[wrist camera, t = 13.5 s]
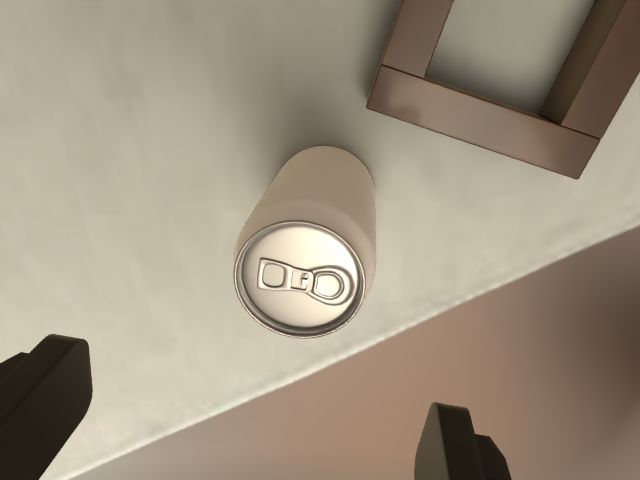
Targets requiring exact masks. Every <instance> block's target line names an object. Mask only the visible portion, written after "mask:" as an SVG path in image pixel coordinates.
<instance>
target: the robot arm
mask: <svg viewBox="0 0 640 480" xmlns="http://www.w3.org/2000/svg"><path fill="white" fill-rule="evenodd" d="M92 392H93V389H92V377H91V366H90V355H89V346H88V343H87V341H86V340H84V339H79V338H73V337H68V336H62V335H56V334H50V335H48V336H47V337H45V338H44V339H43V340H42V341H41V342H40V343H39V344H38V345H37V346H36V347H35V348H34V349H33V350H32V351H31V352H30V353H29V354H28V353H23V352H21V353H19V354H17V355H15V356H13V357H11V358H9V359H7V360H6V361H4V362H2V363H0V480H39V479H40V477H41V476H42V474H43V473H44V472H45V470H46V469H47V468H48V466H49V465H50V463H51V462H52V461H53V459H54V458H55V457H56V455H57V454H58V452H59V451H60V450H61V448H62V447H63V445H64V444H65V443H66V441H67V440H68V439H69V437H70V436H71V434H72V433H73V432H74V430H75V429H76V428H77V426H78V425H79V423H80V422H81V421H82V419H83V418H84V416H85V415H86V413H87V411H88V408H89V406H90V403H91V399H92ZM414 477H415V480H511V476H510V473H509V470H508V466H507V463H506V459H505V457H504V456H503V455H502V453H501V452H500V450H499V449H498V448H497V446H496V445H495V444H494V442H493V441H492V439H491V438H490V437H489V436H483V435H478V434H475V433H474V429H473V425H472V421H471V416H470V413H469V410H468V409H467V408H465V407H459V406H453V405H447V404H442V403H436V402H433V403H432V405H431V407H430V410H429V413H428V416H427V419H426V422H425V426H424V429H423V432H422V435H421V438H420V442H419V445H418V448H417V452H416V458H415V469H414Z"/></svg>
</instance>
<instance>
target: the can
mask: <svg viewBox="0 0 640 480" xmlns="http://www.w3.org/2000/svg"><path fill="white" fill-rule="evenodd" d="M234 264H235V265H234V285H235V289H236V292H237V295H238V298H239V300H240V302H241V303H242V305H243V307H244V308H245V310H246V311H247V312H248V313H249V314H250V315H251V317H252V318H254V319H255V320H256V321H257V322H258V323H260V324H261V325H262V326H264V327H265V328H267V329H269V330H271V331H273V332H275V333H278V334H281V335H284V336H288V337H293V338H316V337H321V336H325V335H328V334H330V333H333V332H335V331H337V330H339V329H340V328H342V327H343V326H345V325H346V324H347V323H348V322H349V321H350V320H351V319H352V318H353V317H354V316H355V315H356V313H357V312H358V310H359V308H360V307H361V304H362V302H363V301H364V300H365V298H366V297H367V295H368V293H369V291H370V289H371V287H372V284H373V280H374V276H375V268H376V209H375V189H374V184H373V180H372V177H371V175H370V173H369V171H368V170H367V168H366V167H365V166H364V164H363V163H362V162H361V161H360V160H359V159H358V158H356V157H355V156H354V155H352V154H351V153H349V152H347V151H345V150H343V149H340V148H336V147H331V146H316V147H311V148H308V149H305V150H303V151H301V152H299V153H297V154H296V155H294V156H293V157H292V158H290V159H289V160H288V161H287V162H286V164H285V165H284V166H283V167H282V169H281V170H280V172H279V173H278V174H277V176H276V177H275V179H274V180H273V182H272V183H271V185H270V186H269V188H268V189H267V191H266V192H265V194H264V195H263V197H262V198H261V200H260V201H259V203H258V204H257V206H256V207H255V209H254V210H253V212H252V214H251V215H250V217H249V218H248V220H247V221H246V223H245V225H244V227H243V228H242V230H241V232H240V234H239V237H238V240H237V243H236V247H235V253H234Z"/></svg>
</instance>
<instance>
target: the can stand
mask: <svg viewBox="0 0 640 480" xmlns="http://www.w3.org/2000/svg"><path fill="white" fill-rule="evenodd" d="M453 1H454V0H401V1H400V3H399V6H398V9H397V12H396V15H395V18H394V21H393V24H392V27H391V30H390V33H389V36H388V38H387V41H386V44H385V47H384V50H383V53H382V56H381V61H380V62H379V65H378V68H377V71H376V74H375V76H374V79H373V82H372V85H371V88H370V91H369V94H368V97H367V104H366V108H367V109H370V110H373V111H376V112H379V113H381V114H384V115H387V116H390V117H393V118H396V119H399V120H402V121H405V122H408V123H411V124H414V125H417V126H420V127H423V128H426V129H429V130H432V131H435V132H438V133H441V134H443V135H446V136H449V137H452V138H455V139H458V140H461V141H464V142H467V143H470V144H473V145H476V146H479V147H482V148H485V149H488V150H491V151H494V152H497V153H500V154H503V155H505V156H508V157H511V158H514V159H517V160H520V161H523V162H526V163H529V164H532V165H535V166H538V167H541V168H544V169H547V170H550V171H553V172H556V173H559V174H562V175H565V176H567V177H570V178H573V179H576V180H577V179H579V177H580V176H581V174H582V172H583V170H584V169H585V167H586V165H587V163H588V162H589V160H590V158H591V156H592V155H593V153H594V151H595V149H596V147H597V146H598V144H599V142H600V139H601V138H602V137H603V135H604V134H605V132H606V130H607V128H608V126H609V125H610V123H611V121H612V119H613V118H614V116H615V114H616V112H617V111H618V109H619V107H620V105H621V104H622V102H623V100H624V98H625V97H626V95H627V93H628V91H629V90H630V88H631V86H632V84H633V83H634V81H635V79H636V77H637V76H638V74H639V72H640V0H596V2H595V4H594V6H593V8H592V10H591V12H590V14H589V16H588V18H587V20H586V22H585V24H584V26H583V28H582V30H581V32H580V34H579V36H578V38H577V40H576V42H575V44H574V46H573V48H572V50H571V52H570V54H569V56H568V58H567V60H566V62H565V64H564V66H563V68H562V70H561V72H560V74H559V76H558V78H557V80H556V82H555V84H554V86H553V88H552V90H551V92H550V94H549V95H548V97H547V99H546V101H545V103H544V105H543V107H542V109H541V111H540V115H539V114H536V113H533V112H530V111H528V110H525V109H522V108H519V107H516V106H513V105H510V104H507V103H504V102H501V101H498V100H495V99H492V98H490V97H487V96H484V95H481V94H478V93H475V92H472V91H469V90H466V89H463V88H460V87H457V86H455V85H452V84H449V83H446V82H443V81H440V80H437V79H434V78H431V77H428V76H425V74H426V71H427V69H428V66H429V63H430V61H431V58H432V56H433V53H434V50H435V48H436V45H437V43H438V40H439V37H440V35H441V32H442V30H443V27H444V25H445V22H446V19H447V17H448V14H449V12H450V9H451V6H452V4H453Z"/></svg>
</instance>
